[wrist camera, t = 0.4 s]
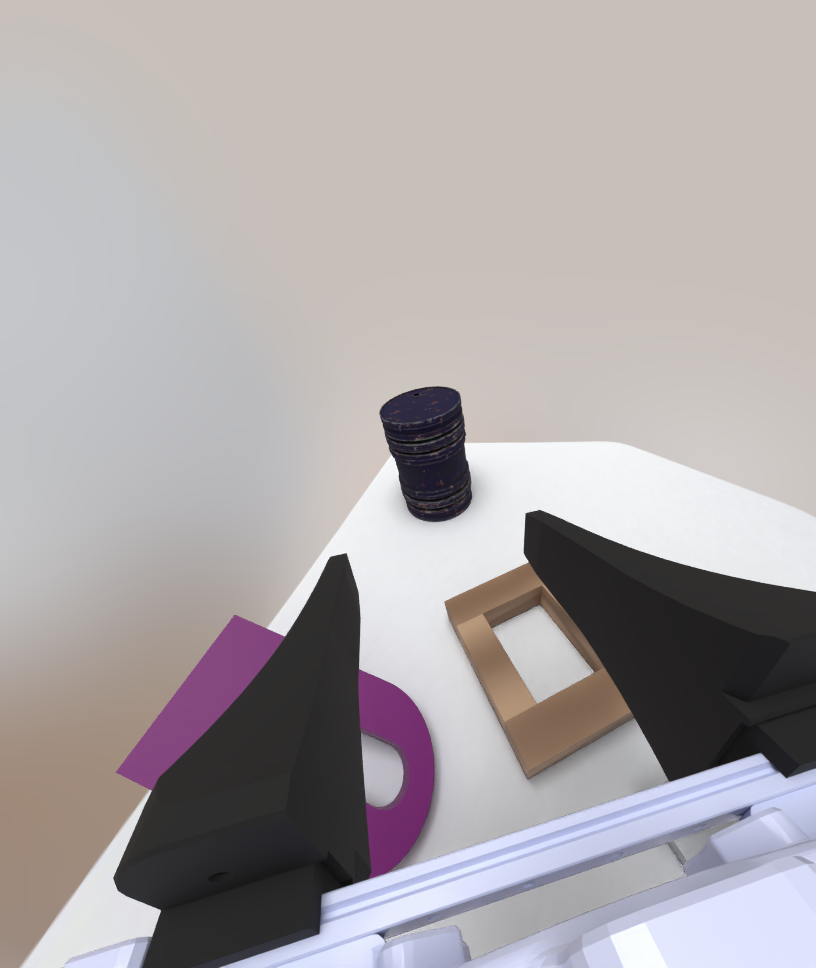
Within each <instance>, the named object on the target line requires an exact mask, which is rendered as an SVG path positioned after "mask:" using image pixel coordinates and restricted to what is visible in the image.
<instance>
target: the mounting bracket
mask: <svg viewBox="0 0 816 968" xmlns="http://www.w3.org/2000/svg"><path fill="white" fill-rule="evenodd" d="M284 638H285V637H284V636H282V635H280V634H278V633H275V632H273V631H271V630H268V629H266V628H264V627H262V626H259V625H257V624H255V623H253V622H250V621H248V620H246V619H243V618H241V617H239V616H237V615H234V617H233V618H232V619H231V620H230V622H229V623H228V624H227V626H226V627H225V628H224V630H223V631H222V632H221V634H220V635H219V637H218V638H217V639H216V641H215V642H214V643H213V644H212V646H211V647H210V648H209V650H208V651H207V652H206V654H205V655H204V656H203V658H202V659H201V660H200V662H199V663H198V664H197V666H196V667H195V668H194V670H193V671H192V672H191V674H190V675H189V676H188V677H187V679H186V680H185V682H184V683H183V684H182V685H181V687H180V688H179V689H178V691H177V692H176V693H175V695H174V696H173V697H172V699H171V700H170V701H169V703H168V704H167V705H166V707H165V708H164V709H163V711H162V712H161V713H160V715H159V716H158V717H157V719H156V720H155V721H154V722H153V724H152V725H151V726H150V728H149V729H148V730H147V732H146V733H145V734H144V736H143V737H142V738H141V740H140V741H139V742H138V744H137V745H136V746H135V748H134V749H133V750H132V752H131V753H130V754H129V756H128V757H127V758H126V760H125V761H124V762H123V764H122V765H121V766H120V768H119V769H118V770H117V771H116V773H118V774H120V775H122V776H124V777H126V778H128V779H130V780H132V781H134V782H136V783H138V784H140V785H142V786H144V787H146V788H148V789H150V790H153V788H154V786H155V784H156V782H157V780H158V778H159V777H160V776H161V775H162V774H163V773H164V772H165V771H166V770H167V769H168V768H169V767H170V766H172V765H173V764H174V763H175V762H176V761H177V760H178V759H179V758H180V757H181V756H182V755H183V754H184V753H185V752H186V751H187V750H188V749H189V748H190V747H191V746H192V745H193V744H194V743H195V742H196V741H197V740H198V739H199V738H200V737H201V736H202V735H203V734H204V733H205V732H206V731H207V730H208V729H209V728H210V727H211V726H212V725H213V724H214V723H215V722H216V720H217V719H218V718H219V717H220V716H221V715H222V714H223V713H224V712H225V711H226V710H227V709H228V708H229V706H230V705H231V704H232V703H233V702H234V701H235V700H236V699H237V698H238V696H239V695H240V694H241V693H242V692H243V691H244V690H245V688H246V687H247V686H248V685H249V684H250V682H251V681H252V680H253V679H254V678H255V676H256V675H257V674H258V673H259V671H260V670H261V669H262V668H263V666H264V665H265V664H266V662H267V661H268V660H269V659H270V657H271V656H272V655H273V653H274V652H275V650H276V649H277V648H278V646H279V645H280V644H281V642H282V641H283V639H284ZM358 689H359V712H360V730H361V732H364V733H366V734H368V735H370V736H372V737H375V738H377V739H379V740H381V741H383V742H385V743H388V744H390V745H392V746H393V747H394V748H395V749H396V750H397V751H398V753H399V755H400V757H401V759H402V763H403V769H404V776H403V783H402V787H401V789H400V792H399V794H398V795H397V797H396V798H395V800H394V801H393V802H391V803H390V804H389V805H387V806H384V807H375V806H372V805H370V804H368V803H366V813H367V825H368V837H369V848H370V859H371V870H372V872H371V874H370V877H369V879H371V878H374V877H377V876H380V875H383V874H386V873H387V872H389V871H390V870H391V869H393V868H394V867H395V866H396V865H397V864H398V863H399V862H400V861H401V860H402V859H403V858H404V856H405V855H406V854H407V853H408V852H409V850H410V849H411V847H412V846H413V844H414V843H415V841H416V839H417V837H418V835H419V834H420V831H421V829H422V827H423V824H424V822H425V819H426V816H427V813H428V810H429V806H430V802H431V797H432V791H433V783H434V757H433V749H432V744H431V739H430V735H429V732H428V729H427V726H426V723H425V721H424V719H423V717H422V715H421V713H420V711H419V710H418V708H417V706H416V705H415V704H414V702H413V701H412V700H411V699H410V698H409V696H408V695H407V694H406V693H404V692H403V691H402V690H401V689H399V688H398V687H396V686H395V685H393V684H391V683H389V682H387V681H384V680H382V679H380V678H378V677H375V676H373V675H371V674H368V673H366V672H364V671H362V670H359V678H358Z"/></svg>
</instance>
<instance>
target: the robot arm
mask: <svg viewBox="0 0 816 968" xmlns="http://www.w3.org/2000/svg"><path fill="white" fill-rule="evenodd" d="M524 554H525V556H526V558H527V560H528V561H529V563H530V565H531V566H532V568H533V570H534V571H535V573H536V575H537V576H538V577H539V578H540V580H541V581H542V582H543V584H544V585H545V586H546V587H547V589H548V590H549V591H550V593H551V594H552V595H553V596H554V598H555V599H556V600H557V601H558V603H559V604H560V605H561V606H562V608H563V609H564V610H565V611H566V613H567V614H568V615H569V616H570V618H571V619H572V620H573V621H574V623H575V624H576V625H577V627H578V628H579V629H580V631H581V632H582V634H583V635H584V637H585V638H586V640H587V641H588V643H589V644H590V646H591V647H592V649H593V650H594V652H595V653H596V655H597V656H598V658H599V659H600V661H601V663H602V664H603V666H604V667H605V669H606V671H607V672H608V674H609V676H610V677H611V679H612V680H613V682H614V684H615V685H616V687H617V688H618V690H619V692H620V694H621V695H622V697H623V699H624V700H625V702H626V704H627V706H628V707H629V709H630V711H631V712H632V714H633V716H634V718H635V719H636V721H637V723H638V725H639V726H640V728H641V730H642V732H643V734H644V735H645V737H646V739H647V741H648V743H649V745H650V746H651V748H652V750H653V752H654V754H655V756H656V757H657V759H658V761H659V763H660V765H661V767H662V769H663V771H664V773H665V774H666V776H667V778H668V780H669V783H666V784H663V785H659V786H656V787H653V788H650V789H647V790H644V791H641V792H638V793H635V794H631V795H628V796H625V797H622V798H619V799H616V800H613V801H610V802H607V803H604V804H600V805H597V806H594V807H591V808H588V809H585V810H582V811H579V812H576V813H573V814H569V815H566V816H563V817H560V818H557V819H554V820H551V821H548V822H545V823H542V824H538V825H535V826H532V827H529V828H526V829H523V830H520V831H517V832H514V833H511V834H507V835H504V836H501V837H498V838H495V839H492V840H489V841H486V842H483V843H480V844H476V845H473V846H470V847H467V848H464V849H461V850H458V851H455V852H452V853H449V854H445V855H442V856H439V857H436V858H433V859H430V860H427V861H424V862H421V863H418V864H414V865H411V866H408V867H405V868H402V869H399V870H396V871H393V872H390V873H387V874H383V875H380V876H377V877H374V878H371V879H369V877H370V874H371V872H372V870H371V859H370V848H369V837H368V825H367V813H366V801H365V788H364V775H363V761H362V746H361V730H360V712H359V689H358V678H359V649H360V605H359V593H358V589H357V586H356V582H355V579H354V576H353V573H352V569H351V566H350V563H349V560H348V556H347V553H345V554H341V555H336V556H332V557H330V558H329V560H328V562H327V564H326V566H325V568H324V570H323V572H322V574H321V576H320V578H319V580H318V582H317V584H316V586H315V588H314V590H313V592H312V593H311V595H310V597H309V599H308V601H307V603H306V604H305V606H304V608H303V609H302V611H301V613H300V614H299V616H298V618H297V619H296V621H295V622H294V624H293V626H292V627H291V629H290V630H289V632H288V633H287V635H286V636H285V638H284V639H283V641H282V642H281V644H280V645H279V646H278V648H277V649H276V650H275V652H274V653H273V655H272V656H271V657H270V659H269V660H268V661H267V662H266V664H265V665H264V666H263V668H262V669H261V670H260V671H259V673H258V674H257V675H256V676H255V678H254V679H253V680H252V681H251V682H250V684H249V685H248V686H247V687H246V688H245V690H244V691H243V692H242V693H241V694H240V695H239V696H238V698H237V699H236V700H235V701H234V702H233V703H232V704H231V705H230V706H229V708H228V709H227V710H226V711H225V712H224V713H223V714H222V715H221V716H220V717H219V718H218V719H217V720H216V722H215V723H214V724H213V725H212V726H211V727H210V728H209V729H208V730H207V731H206V732H205V733H204V734H203V735H202V736H201V737H200V738H199V739H198V740H197V741H196V742H195V743H194V744H193V745H192V746H191V747H190V748H189V749H188V750H187V751H186V752H185V753H184V754H183V755H182V756H181V757H180V758H179V759H178V760H177V761H176V762H175V763H174V764H173V765H172V766H170V767H169V768H168V769H167V770H166V771H165V772H164V773H163V774H162V775H161V776H160V777H159V778H158V780H157V782H156V784H155V786H154V788H153V790H152V792H151V794H150V796H149V798H148V800H147V802H146V804H145V806H144V809H143V811H142V813H141V816H140V818H139V820H138V822H137V825H136V827H135V829H134V832H133V834H132V836H131V838H130V841H129V843H128V845H127V848H126V850H125V852H124V854H123V857H122V859H121V861H120V864H119V866H118V868H117V871H116V873H115V875H114V878H113V879H114V882H115V884H116V887H117V889H118V891H119V892H121V893H122V894H124V895H126V896H127V897H130V898H132V899H135V900H137V901H140V902H142V903H145V904H147V905H150V906H152V907H155V908H157V909H160V910H161V913H160V916H159V919H158V922H157V925H156V928H155V930H154V933H153V936H152V937H140V938H135V939H130V940H126V941H123V942H120V943H117V944H114V945H111V946H107V947H104V948H101V949H98V950H95V951H92V952H89V953H85V954H82V955H79V956H76V957H73V958H71V959H70V960H69V961H67V962H66V963H65V964H64V965H63V967H62V968H816V592H813V591H807V590H801V589H795V588H789V587H783V586H777V585H771V584H765V583H760V582H755V581H751V580H746V579H741V578H736V577H731V576H727V575H723V574H718V573H714V572H710V571H706V570H702V569H698V568H694V567H691V566H687V565H683V564H679V563H676V562H673V561H669V560H666V559H663V558H659V557H656V556H653V555H650V554H647V553H644V552H641V551H638V550H635V549H632V548H630V547H627V546H624V545H622V544H619V543H617V542H614V541H611V540H609V539H606V538H604V537H602V536H599V535H597V534H594V533H592V532H590V531H587V530H585V529H583V528H581V527H578V526H576V525H574V524H572V523H569V522H567V521H565V520H563V519H560V518H558V517H556V516H554V515H551V514H549V513H546V512H544V511H541V510H538V511H534V512H529V513H526V517H525V536H524ZM738 818H739V822H737V823H735V824H733V825H731V826H729V827H727V828H725V829H723V830H721V831H719V832H717V833H715V834H713V835H711V836H710V837H709V840H708V843H707V845H706V846H705V847H704V848H703V849H702V850H701V851H700V852H699V853H698V854H696V855H695V856H694V857H692V858H691V859H689V860H688V861H687V862H685V863H684V864H683V869H684V872H685V873H686V875H687V876H686V877H683V878H680V879H677V880H674V881H671V882H668V883H665V884H662V885H659V886H657V887H654V888H651V889H648V890H645V891H643V892H640V893H637V894H634V895H631V896H629V897H626V898H623V899H621V900H618V901H616V902H613V903H610V904H608V905H605V906H602V907H600V908H597V909H594V910H592V911H589V912H587V913H584V914H582V915H579V916H577V917H574V918H572V919H569V920H567V921H565V922H562V923H560V924H557V925H555V926H552V927H550V928H547V929H545V930H542V931H540V932H538V933H535V934H533V935H530V936H528V937H526V938H523V939H521V940H518V941H516V942H514V943H511V944H509V945H506V946H504V947H502V948H499V949H497V950H494V951H492V952H490V953H487V954H485V955H482V956H480V957H477V958H475V959H473V960H471V957H470V951H469V947H468V946H467V944H466V943H465V942H463V941H462V936H461V931H460V930H459V929H458V927H457V926H450V927H445V928H440V929H434V930H429V931H424V932H419V933H414V934H409V935H406V936H402V937H399V938H396V939H393V940H391V941H389V942H386V941H385V939H388V938H391V937H393V936H396V935H399V934H402V933H405V932H408V931H411V930H414V929H417V928H420V927H423V926H426V925H429V924H431V923H434V922H437V921H440V920H443V919H446V918H449V917H452V916H455V915H458V914H461V913H464V912H467V911H469V910H472V909H475V908H478V907H481V906H484V905H487V904H490V903H493V902H496V901H499V900H502V899H505V898H507V897H510V896H513V895H516V894H519V893H522V892H525V891H528V890H531V889H534V888H537V887H540V886H543V885H545V884H548V883H551V882H554V881H557V880H560V879H563V878H566V877H569V876H572V875H575V874H578V873H581V872H583V871H586V870H589V869H592V868H595V867H598V866H601V865H604V864H607V863H610V862H613V861H616V860H619V859H621V858H624V857H627V856H630V855H633V854H636V853H639V852H642V851H645V850H648V849H651V848H654V847H657V846H659V845H662V844H665V843H668V842H671V841H674V840H677V839H680V838H683V837H686V836H689V835H692V834H694V833H697V832H700V831H703V830H706V829H709V828H712V827H715V826H718V825H721V824H724V823H727V822H730V821H732V820H735V819H738Z"/></svg>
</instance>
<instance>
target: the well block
mask: <svg viewBox="0 0 816 968" xmlns="http://www.w3.org/2000/svg"><path fill="white" fill-rule="evenodd" d="M539 604H541V606H542V607H543V608H544V609H545V611H546V612H547V613H548V614H549V616H550V617H551V618H552V619H553V621H554V622H555V623H556V624H557V625H558V627H559V628H560V629H561V630H562V632H563V633H564V634H565V635H566V637H567V638H568V639H569V640H570V642H571V643H572V644H573V645H574V647H575V648H576V649H577V650H578V652H579V653H580V654H581V655H582V657H583V658H584V659H585V660H586V662H587V663H588V664H589V665H590V667H591V668H592V669H593V670H594V672H595V673H594V674H592V675H590V676H588V677H586V678H584V679H583V680H581V681H579V682H577V683H575V684H573V685H571V686H570V687H568V688H566V689H564V690H562V691H560V692H559V693H557V694H555V695H553V696H551V697H549V698H547V699H546V700H544V701H542V702H540V703H538V704H537V703H536V702H535V700H534V698H533V697H532V695H531V693H530V692H529V690H528V688H527V687H526V685H525V683H524V682H523V680H522V678H521V677H520V675H519V673H518V672H517V670H516V669H515V667H514V665H513V664H512V662H511V660H510V659H509V657H508V655H507V654H506V652H505V650H504V649H503V647H502V645H501V644H500V642H499V640H498V639H497V637H496V635H495V634H494V632H493V630H492V629H491V628H492V627H494V626H496V625H498V624H500V623H503V622H505V621H507V620H509V619H511V618H513V617H515V616H517V615H519V614H521V613H523V612H525V611H527V610H529V609H531V608H533V607H535V606H537V605H539ZM445 606H446V610H447V613H448V617H449V620H450V622H451V624H452V626H453V628H454V630H455V632H456V634H457V636H458V638H459V640H460V642H461V644H462V647H463V649H464V651H465V653H466V655H467V657H468V659H469V661H470V663H471V665H472V667H473V669H474V671H475V673H476V675H477V677H478V679H479V681H480V683H481V685H482V687H483V689H484V692H485V694H486V696H487V698H488V700H489V702H490V704H491V706H492V708H493V710H494V712H495V714H496V716H497V718H498V720H499V722H500V724H501V726H502V728H503V730H504V732H505V734H506V736H507V739H508V741H509V743H510V745H511V747H512V749H513V751H514V753H515V755H516V757H517V759H518V761H519V763H520V765H521V767H522V769H523V771H524V773H525V775H526V777H527V779H529V778H531V777H533V776H534V775H536V774H538V773H539V772H541V771H543V770H545V769H546V768H548V767H550V766H552V765H553V764H555V763H557V762H558V761H560V760H562V759H564V758H565V757H567V756H569V755H571V754H572V753H574V752H576V751H577V750H579V749H581V748H583V747H584V746H586V745H588V744H590V743H591V742H593V741H595V740H596V739H598V738H600V737H602V736H603V735H605V734H607V733H608V732H610V731H612V730H614V729H615V728H617V727H619V726H621V725H622V724H624V723H626V722H627V721H629V720H631V719H633V718H634V716H633V714H632V712H631V711H630V709H629V707H628V706H627V704H626V702H625V700H624V699H623V697H622V695H621V694H620V692H619V690H618V688H617V687H616V685H615V684H614V682H613V680H612V679H611V677H610V676H609V674H608V672H607V671H606V669H605V667H604V666H603V664H602V663H601V661H600V659H599V658H598V656H597V655H596V653H595V652H594V650H593V649H592V647H591V646H590V644H589V643H588V641H587V640H586V638H585V637H584V635H583V634H582V632H581V631H580V629H579V628H578V627H577V625H576V624H575V623H574V621H573V620H572V619H571V618H570V616H569V615H568V614H567V613H566V611H565V610H564V609H563V608H562V606H561V605H560V604H559V603H558V601H557V600H556V599H555V598H554V596H553V595H552V594H551V593H550V591H549V590H548V589H547V587H546V586H545V585H544V584H543V582H542V581H541V580H540V578H539V577H538V576H537V575H536V573H535V571H534V570H533V568H532V566H531V565H530V563H527V564H524V565H522V566H520V567H518V568H516V569H514V570H511V571H509V572H507V573H505V574H503V575H501V576H499V577H496V578H494V579H492V580H490V581H488V582H486V583H483V584H481V585H479V586H477V587H475V588H473V589H470V590H468V591H466V592H464V593H462V594H460V595H458V596H455V597H453V598H451V599H449V600H447V601H445Z"/></svg>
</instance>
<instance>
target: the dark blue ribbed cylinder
mask: <svg viewBox="0 0 816 968" xmlns="http://www.w3.org/2000/svg"><path fill="white" fill-rule="evenodd" d="M380 418H381V421H382V423H383V428H384V431H385V437H386V440H387V443H388V445H389V450H390V452H391V454H392V456H393V457H394V458H395V461H396V465H397V468H398V471H399V481H400V484H401V490H402V493H403V496H404V498H405V500H406V503H407V507H408V510H409V511H410V513H411V514H412V515H413V516H415V517H416V518H418V519H420V520H423V521H428V522H440V521H446V520H449V519H452V518H454V517H456V516H458V515H460V514H461V513H463V512H464V511H465V510H466V509H467V508H468V506H469V505H470V503H471V500H472V491H471V476H470V471H469V465H468V461H467V460H466V455H465V447H464V442H465V436H466V432H465V429H464V427H465V424H464V416H463V414H462V407H461V397H460V393H459V392H458V391H456V390H455V389H452V388H448V387H438V386H437V387H425V388H420V389H415V390H411V391H408V392H405V393H402V394H400V395H398V396H396V397H394V398H392V399H390V400H389V401H388V402H386V403H385V404H384V405H383V406H382V407H381V409H380Z"/></svg>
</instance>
